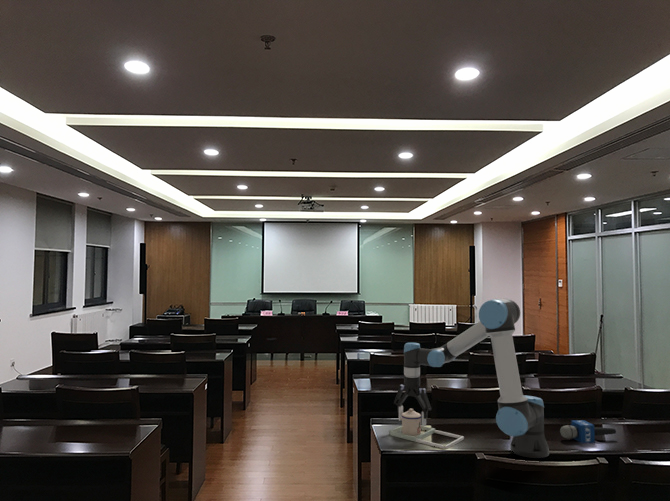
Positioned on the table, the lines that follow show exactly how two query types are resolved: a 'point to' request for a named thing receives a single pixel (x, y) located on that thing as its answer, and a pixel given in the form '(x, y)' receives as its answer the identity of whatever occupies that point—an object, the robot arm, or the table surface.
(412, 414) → the teacup with lid
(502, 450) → the table surface
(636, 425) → the table surface
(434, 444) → the divided tray
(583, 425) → the microphone
